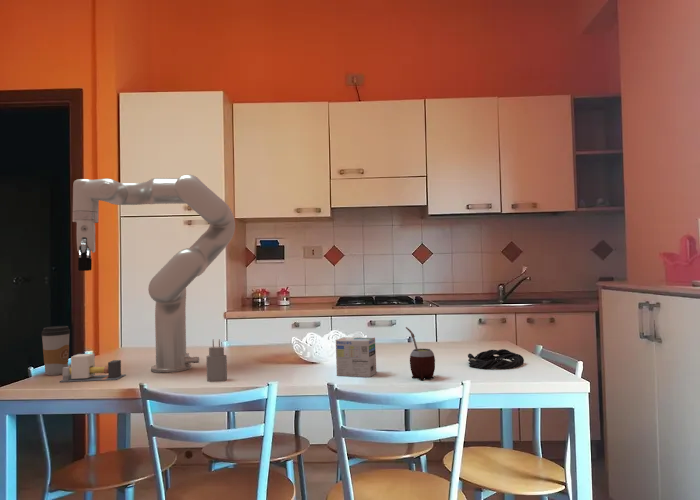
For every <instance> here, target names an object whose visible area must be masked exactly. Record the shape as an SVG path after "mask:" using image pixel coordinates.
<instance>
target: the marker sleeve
mask: <svg viewBox="0 0 700 500" xmlns="http://www.w3.org/2000/svg"><path fill="white" fill-rule="evenodd" d="M95 357H96V356H95V353H77V354H74V355H73V356H71V357H70V363H71V364H70V365H71V379H78V378H90V377H92V376H96V373H90V371H89V367H96V365H95V364H96V362H95V361H96V360H95Z"/></svg>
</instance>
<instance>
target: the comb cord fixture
mask: <svg viewBox="0 0 700 500" xmlns="http://www.w3.org/2000/svg"><path fill="white" fill-rule="evenodd" d="M107 364H108V365H107V366H95V367H89V371H90V373H95V375H94V376H92V377H90V378H78V379H71V364H70V365H69V366H68V367H64V368H63V374H62V379H61V380H59V383H75V382H77V383H78V382H81V381H82V382H103V381H104V382H105V381H107V382H108V381H118V380H120V379H122V378H124V377H125V376H127V374H122V360H121V359H116V360H115V359H113V360H111V361H108V363H107ZM97 374H99V375H97ZM101 374H103V375H101Z"/></svg>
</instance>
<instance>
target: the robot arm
mask: <svg viewBox="0 0 700 500" xmlns="http://www.w3.org/2000/svg"><path fill="white" fill-rule="evenodd" d="M100 201H101V202H106V203H109V204H111V205H117V206H126V205H127V206H129V205H130V206H135V205H138V206H139V205H141V206H143V205H160V204H161V205H164V204H165V205H167V204H168V205H169V204H186V205H187V206H188V207H189V208H191V209H192V210H193V211H194V212H195V213H196V214H198V215H199V216H200V217H201V218H202V219H203V220H204V221H205V222H207V223H208V224H209V226H208V228H207V230H205V232H203V233H202V234H201V235H200V237H198V239H197V240H196V241H195V242H194V243H193V244H192V245H191V246H189V247H188V248H187V247H186V248H183V249H181V250H179V251H178V252H177V253H175V255H173V256H172V257H171V259H169V260H168V261H167V262H166V264H164V266H162V268H161V269H160V270H159V271H158V272H157V273H156V274H155V275H154V276H153V277H152V278H151V279H150V281H149V284H148V294H149V297H150V298H151V299H152V301H153V302H155V308H154V318H155V319H154V324H155V325H154V328H155V329H154V330H155V365H152V366H151V367H150V371H151V372H153V373H162V374H163V373H176V372H182V371H187V370H189V369H191V368H192V364H200V357H199V356H190V353H188V352H187V324H186V320H187V319H186V318H187V317H186V313H187V312H186V306H187V305H186V304H187V303H186V302H187V287H188V286H189V285H190V284H191V283H192V282H193V281H194V280H195V279H196V278H197V277H199V276H201V275H202V274H203V273H205V271H206V270H207V269H208V267H209V266H210V265H211V264H212V263H213V262H214V261H215V260H216V258H218V256H220V254H221V253H222V252H223V251H224V250H225V248H226V247H228V245H229V244H230V242H231V241H232V240H233V237H234V234H235V231H236V221H235V216H234V214H233V212H232V209H231V208H230V205H228V204H227V202H226V201H224V200H223V199H222V198H221V197H220V196H218V195H217V194H216V193H215V192H214V191H213V190H211V188H209V187H208V186H207V185H206V184H205V183H204V182H203V181H201V179H199V178H198V177H197V176H195V175H194V174H183V175H181V176H179V177H154V178H151V179H148V180H147V181H143V182H134V183H133V182H130V183H129V182H126V183H125V182H119V181H117V180H115V179H113V178H107V177H106V178H98V179H88V178H80V179H79V178H78V179H76V180H74V181H73V186H72V222H73V223H76V249H77V252H78V261H77V262H78V264H77V267H78V268H77V270H78V271H79V272H81V271H83V272H87V271H92V269H93V268H92V264H93V262H92V261H93V258H92V253H95V252H96V224H98V223H99V209H100V208H99V207H100V206H99V205H100V204H99V202H100Z"/></svg>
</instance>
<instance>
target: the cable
mask: <svg viewBox="0 0 700 500" xmlns="http://www.w3.org/2000/svg"><path fill="white" fill-rule="evenodd" d="M467 357H468V366H469V367H470V368H471V367H472V368H476V369H478V370H481V369H486V370H487V369H489V370H490V369H500V370H505V369H515V368H518V367H520V366H522V365H523V364H524V362H525V359H524V357H523V356H522V355H521V354H518V353H516V352H513V351H510V350H508V349H504V348H503V349H501V348H500V349H489V350H485V351H481V352H479V353H477V354H476V355H475V356H474V355H473V354H472V353H468V354H467Z"/></svg>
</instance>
